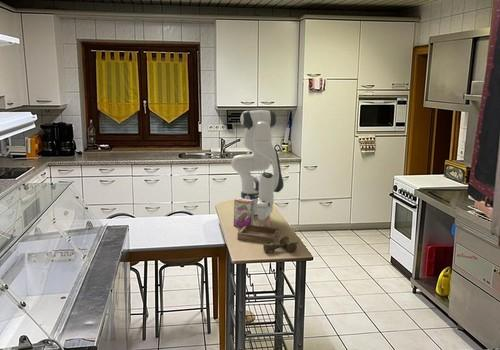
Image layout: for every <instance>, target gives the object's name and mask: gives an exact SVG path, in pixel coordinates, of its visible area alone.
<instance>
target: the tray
mask: <svg viewBox="0 0 500 350" xmlns="http://www.w3.org/2000/svg"><path fill="white" fill-rule="evenodd" d="M280 232H281V231H280V228H277V227H271V226H270V227H262V226H260V225H254V224H253V225H245V226H244V227H242V228H241V229H240V230H239V231H238V232H237V235H236V236H237V238H236V239H237V240H241V241H249V242H254V243H255V242H256V243H263V244H265V243H266V244H271V243H273V244H275V243H274V242H275V241H276V240H277V239H278V237H279V236H280Z"/></svg>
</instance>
